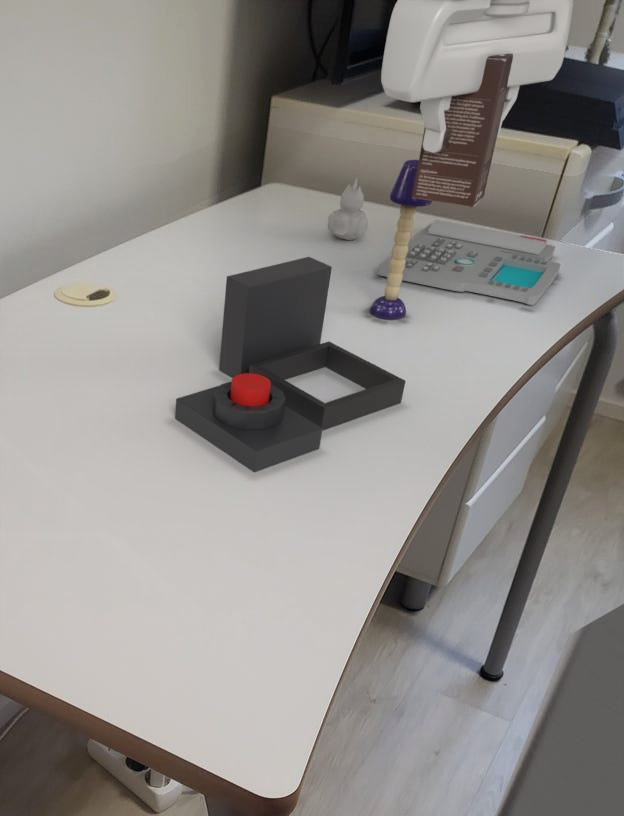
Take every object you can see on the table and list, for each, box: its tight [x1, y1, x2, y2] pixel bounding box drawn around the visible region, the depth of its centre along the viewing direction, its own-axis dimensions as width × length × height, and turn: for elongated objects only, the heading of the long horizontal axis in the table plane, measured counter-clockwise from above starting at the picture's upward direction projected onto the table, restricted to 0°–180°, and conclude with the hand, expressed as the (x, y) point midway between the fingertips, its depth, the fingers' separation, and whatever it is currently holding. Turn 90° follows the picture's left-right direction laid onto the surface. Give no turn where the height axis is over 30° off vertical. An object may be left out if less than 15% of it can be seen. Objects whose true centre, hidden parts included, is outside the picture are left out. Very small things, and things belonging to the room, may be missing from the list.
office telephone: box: [376, 219, 561, 306], centre depth 129 cm, size 23×3×20 cm
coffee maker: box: [218, 256, 406, 432], centre depth 97 cm, size 16×11×10 cm
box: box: [413, 54, 513, 208], centre depth 88 cm, size 6×4×12 cm
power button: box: [230, 373, 271, 406], centre depth 90 cm, size 4×4×2 cm
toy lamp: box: [369, 159, 433, 320], centre depth 111 cm, size 5×5×17 cm
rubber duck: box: [327, 177, 369, 241], centre depth 134 cm, size 5×7×8 cm
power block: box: [174, 380, 323, 473], centre depth 91 cm, size 12×8×4 cm, turn 35°
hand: (459, 145), depth 88 cm, fingers closed on box, 5 cm apart
